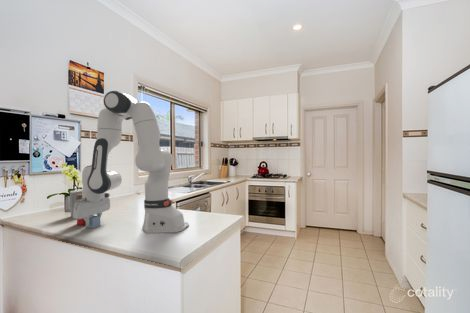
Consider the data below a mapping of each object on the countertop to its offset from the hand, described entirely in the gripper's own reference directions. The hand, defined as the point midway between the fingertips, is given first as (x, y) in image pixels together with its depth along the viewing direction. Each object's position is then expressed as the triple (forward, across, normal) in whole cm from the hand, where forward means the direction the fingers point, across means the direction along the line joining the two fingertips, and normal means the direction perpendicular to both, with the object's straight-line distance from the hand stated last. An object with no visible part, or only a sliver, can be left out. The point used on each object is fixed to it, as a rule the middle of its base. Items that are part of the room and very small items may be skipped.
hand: (93, 223), depth 118 cm
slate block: (+2, 0, 0) cm, 2 cm away
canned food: (+2, +4, +9) cm, 10 cm away
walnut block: (-9, +4, +9) cm, 13 cm away
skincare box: (+2, +17, +26) cm, 31 cm away
